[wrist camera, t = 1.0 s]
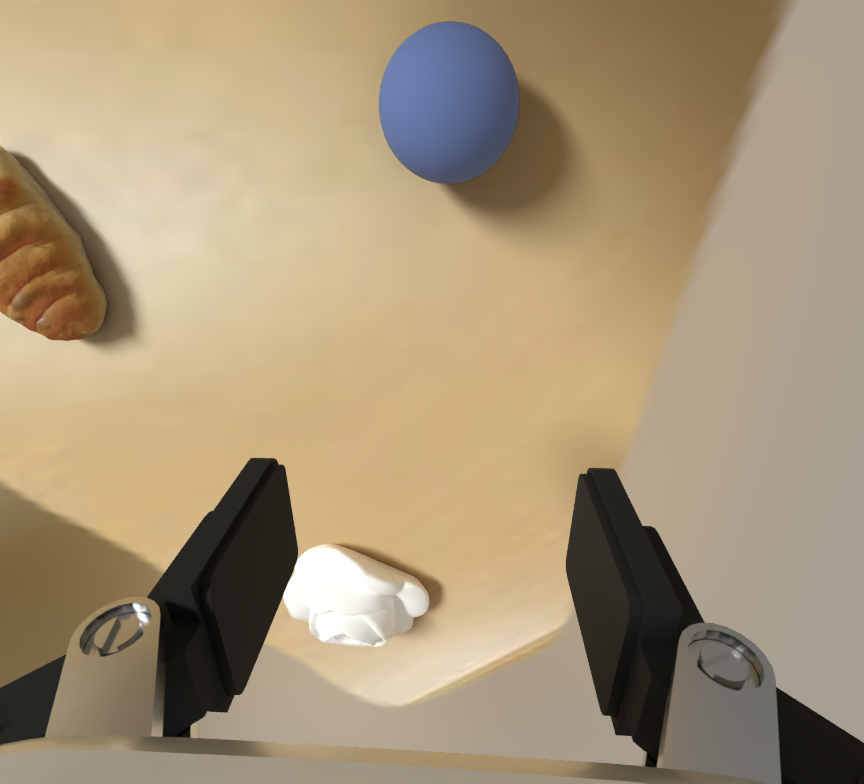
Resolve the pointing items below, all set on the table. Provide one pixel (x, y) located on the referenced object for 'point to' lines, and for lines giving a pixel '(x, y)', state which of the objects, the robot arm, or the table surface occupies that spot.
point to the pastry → (43, 262)
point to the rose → (352, 597)
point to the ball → (449, 102)
